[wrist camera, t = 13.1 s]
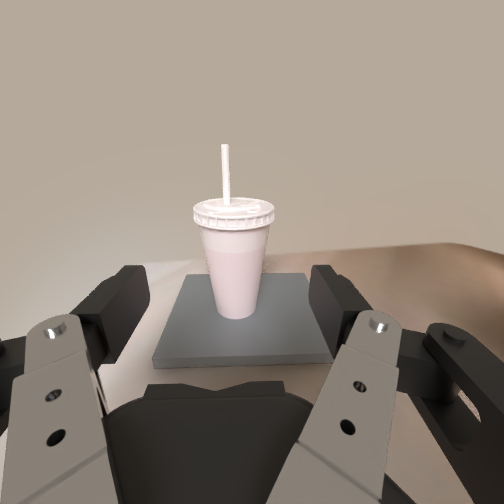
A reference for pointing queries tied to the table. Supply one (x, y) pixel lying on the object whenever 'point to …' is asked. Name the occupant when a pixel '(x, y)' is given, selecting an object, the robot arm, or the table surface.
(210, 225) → the smoothie
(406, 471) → the table surface
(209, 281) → the metal board
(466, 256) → the table surface
